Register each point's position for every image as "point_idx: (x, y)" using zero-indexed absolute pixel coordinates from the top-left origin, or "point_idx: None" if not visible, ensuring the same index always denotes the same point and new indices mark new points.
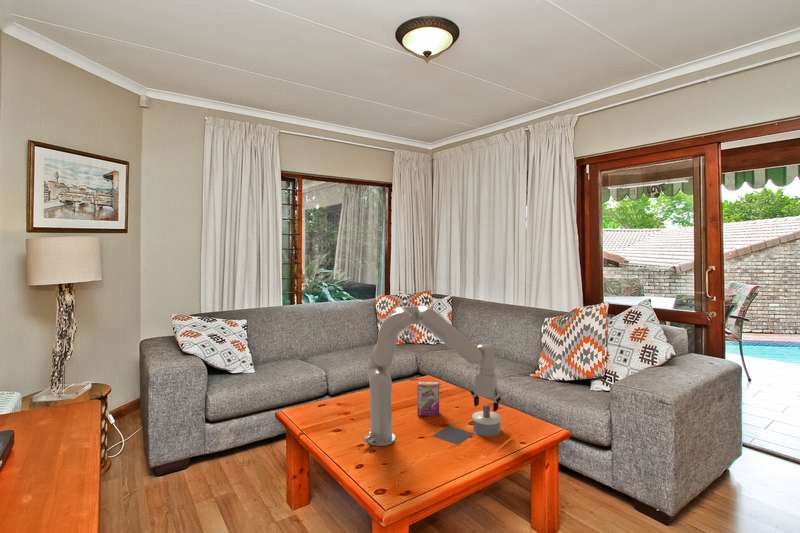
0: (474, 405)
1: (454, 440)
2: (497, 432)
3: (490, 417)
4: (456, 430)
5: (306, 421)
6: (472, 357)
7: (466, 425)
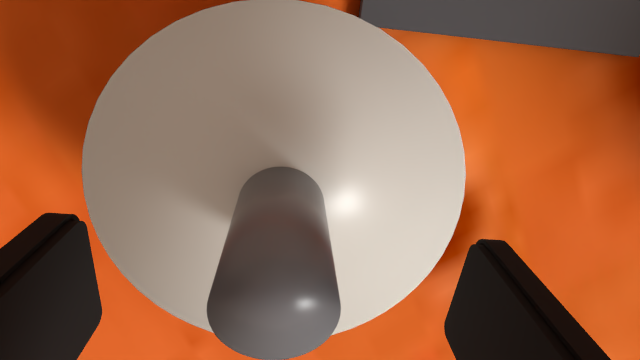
0: (505, 245)
1: None
2: None
3: (223, 204)
4: None
5: None
6: None
7: (480, 164)
